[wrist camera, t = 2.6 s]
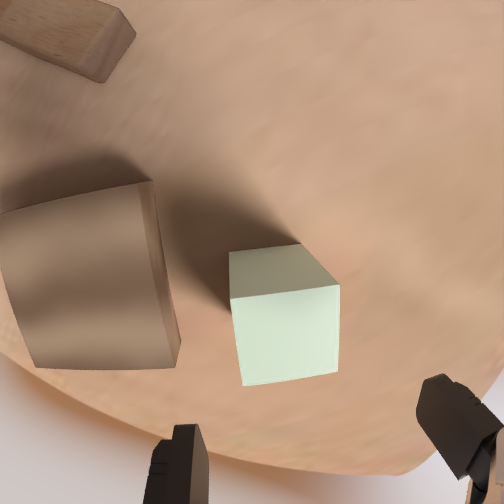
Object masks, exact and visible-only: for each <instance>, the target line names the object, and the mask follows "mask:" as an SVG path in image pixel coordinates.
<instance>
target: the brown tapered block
mask: <svg viewBox="0 0 504 504" xmlns="http://www.w3.org/2000/svg"><path fill="white" fill-rule="evenodd" d="M0 268H1V272H2V276H3V280H4V283H5V286H6V290H7V293H8V296H9V300H10V303H11V306H12V309H13V312H14V315H15V317H16V320H17V323H18V326H19V328H20V331H21V334H22V336H23V339H24V341H25V344H26V346H27V349H28V351H29V353H30V356H31V358H32V360H33V363H34V365H35V367H36V368H51V369H74V370H141V369H166V368H175V366H176V362H177V357H178V353H179V349H180V344H181V338H180V333H179V329H178V324H177V320H176V315H175V311H174V306H173V301H172V296H171V291H170V286H169V281H168V276H167V270H166V265H165V259H164V253H163V248H162V242H161V235H160V229H159V223H158V216H157V209H156V202H155V194H154V187H153V181H147V182H141V183H135V184H129V185H124V186H118V187H113V188H108V189H103V190H98V191H93V192H88V193H83V194H78V195H74V196H69V197H65V198H60V199H56V200H52V201H48V202H44V203H40V204H36V205H32V206H28V207H24V208H20V209H16V210H13V211H9V212H6V213H2V214H0Z"/></svg>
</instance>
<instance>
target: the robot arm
mask: <svg viewBox="0 0 504 504" xmlns="http://www.w3.org/2000/svg"><path fill="white" fill-rule="evenodd" d="M416 417H417V420H418V423H419V424H420V426H421V427H422V429H423V430H424V431H425V433H426V434H427V436H428V437H429V438H430V440H431V441H432V443H433V444H434V446H435V447H436V449H437V450H438V451H439V453H440V454H441V456H442V457H443V458H444V460H445V462H446V463H447V465H448V466H449V467H450V469H451V470H452V472H453V473H454V475H455V476H456V478H457V479H458V480H460V479H462V478H464V477H465V476H467V475H469V476H470V477H471V479H470V481H469V484H468V491H467V497H466V502H465V504H504V425H503V424H502V423H501V422H500V420H498V418H497V417H496V416H495V415H494V414H493V413H492V412H491V411H490V410H489V409H488V408H487V407H486V406H485V405H484V404H483V403H481V401H480V400H479V399H478V398H477V397H475V395H474V394H473V393H472V392H471V391H470V390H469V388H468V387H466V386H464V385H462V384H460V383H458V382H454V383H453V382H452V380H451V379H450V378H449V377H448V376H447V375H445V374H439V375H436V376H434V377H431V378H428V379H426V380H424V382H423V385H422V389H421V393H420V397H419V400H418V404H417V408H416ZM208 489H209V460H208V454H207V450H206V447H205V444H204V441H203V438H202V435H201V432H200V429H199V426H198V424H183V425H175V426H174V430H173V436H172V440H161V441H160V442H159V443H158V445H157V446H156V447H155V449H154V450H153V453H152V458H151V465H150V469H149V476H148V479H147V483H146V489H145V494H144V500H143V504H208V491H209V490H208Z"/></svg>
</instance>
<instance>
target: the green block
mask: <svg viewBox="0 0 504 504" xmlns="http://www.w3.org/2000/svg"><path fill="white" fill-rule="evenodd" d="M229 283H230V303H231V311H232V318H233V324H234V331H235V338H236V345H237V352H238V358H239V365H240V371H241V378H242V384H243V386H251V385H259V384H266V383H274V382H280V381H287V380H293V379H299V378H305V377H311V376H316V375H322V374H327V373H332V372H337V371H338V352H339V317H340V284H339V283H338V282H337V281H336V280H335V279H334V278H333V277H332V276H331V275H330V273H329V272H328V271H327V270H326V269H325V268H324V267H323V266H322V265H321V264H320V263H319V262H318V261H317V260H316V259H315V258H314V257H313V255H312V254H311V253H310V252H309V251H308V250H307V249H306V248H305V247H304V246H303V245H302V244H294V245H285V246H277V247H268V248H260V249H251V250H242V251H234V252H229Z"/></svg>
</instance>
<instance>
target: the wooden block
mask: <svg viewBox="0 0 504 504" xmlns="http://www.w3.org/2000/svg"><path fill="white" fill-rule="evenodd" d="M135 37H136V32H135V30H134V29H133V27H132V26H131V25H130V23H129V22H128V20H127V19H126V17H125V16H124V14H123V13H122V12H121V10H120V9H119V8H117V7H114V6H111V5H109V4H106V3H103V2H100V1H97V0H0V40H2V41H4V42H6V43H8V44H10V45H12V46H15V47H17V48H19V49H21V50H23V51H25V52H27V53H29V54H31V55H34V56H37V57H39V58H42V59H44V60H47V61H49V62H52V63H54V64H56V65H59V66H61V67H64V68H66V69H68V70H71V71H73V72H75V73H78V74H80V75H82V76H85V77H87V78H89V79H91V80H93V81H96V82H98V83H104V82H105V81H106V80H107V79H108V77H109V75H110V74H111V72H112V71H113V69H114V67H115V66H116V64H117V63H118V61H119V60H120V58H121V57H122V55H123V54H124V53H125V51H126V50H127V48H128V47H129V45H130V44H131V43H132V41H133V40H134V38H135Z"/></svg>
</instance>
